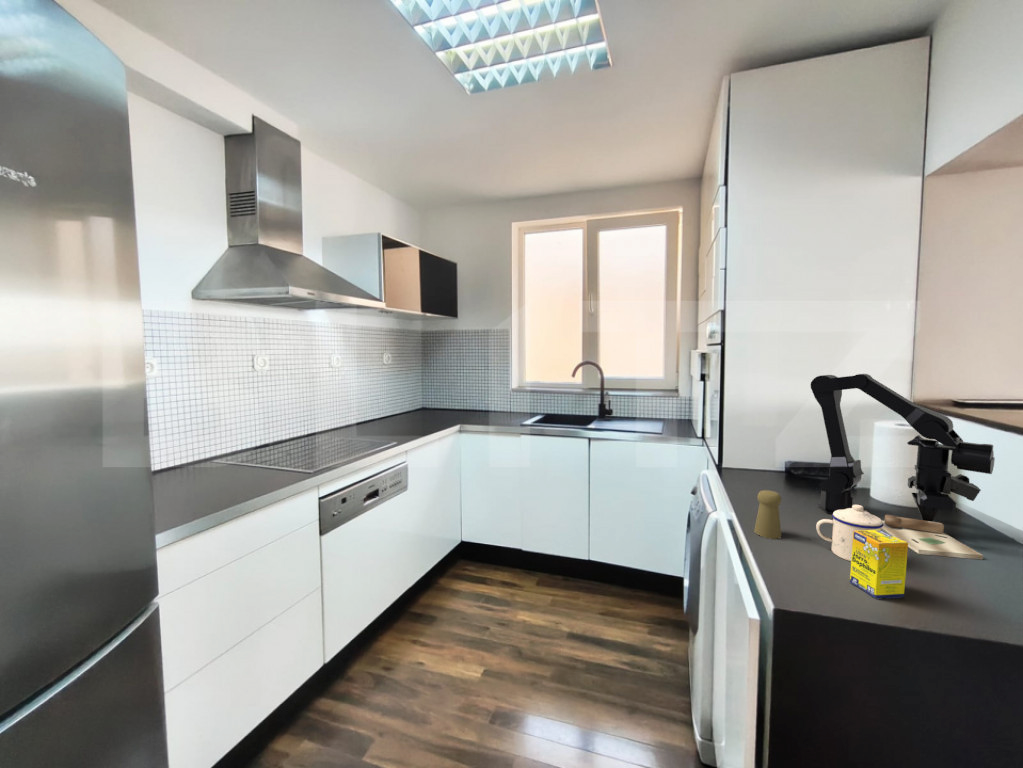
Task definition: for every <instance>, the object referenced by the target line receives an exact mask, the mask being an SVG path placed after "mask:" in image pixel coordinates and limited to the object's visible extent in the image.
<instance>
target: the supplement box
mask: <svg viewBox="0 0 1023 768" xmlns="http://www.w3.org/2000/svg"><path fill="white" fill-rule="evenodd" d="M908 550H909V547H908V543H907V542H905V541H902V540H900V539H898V538H896V537H894V536H892V535H890V534H889V533H888V532H886V531H884V530H882V531H881V530H858V531H853V542H852V557H851V561H850V574H849V583H850V584H852V585H854V586H855V587H857V588H858V589H860V590H862V591H863V592H865V594H868V595H870V596H871V597H872V598H874V599H875V600H882V598H886V599H899V598H900V599H901V598H902V597H903V598H904V597H905V587H906V576H907V563H908V562H907V561H908Z"/></svg>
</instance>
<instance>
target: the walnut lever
mask: <svg viewBox="0 0 1023 768" xmlns="http://www.w3.org/2000/svg"><path fill="white" fill-rule="evenodd" d="M884 521H885V525H888V526H891V527H903V528H910V529H917V530H924V531H931V532H937V533H944V528H945V527H944V526H945V525H944V524H943V523H942V522H937V521H925V520H922V519H917V518H909V517H902V516H897V515H894V514H885V515H884Z"/></svg>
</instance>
